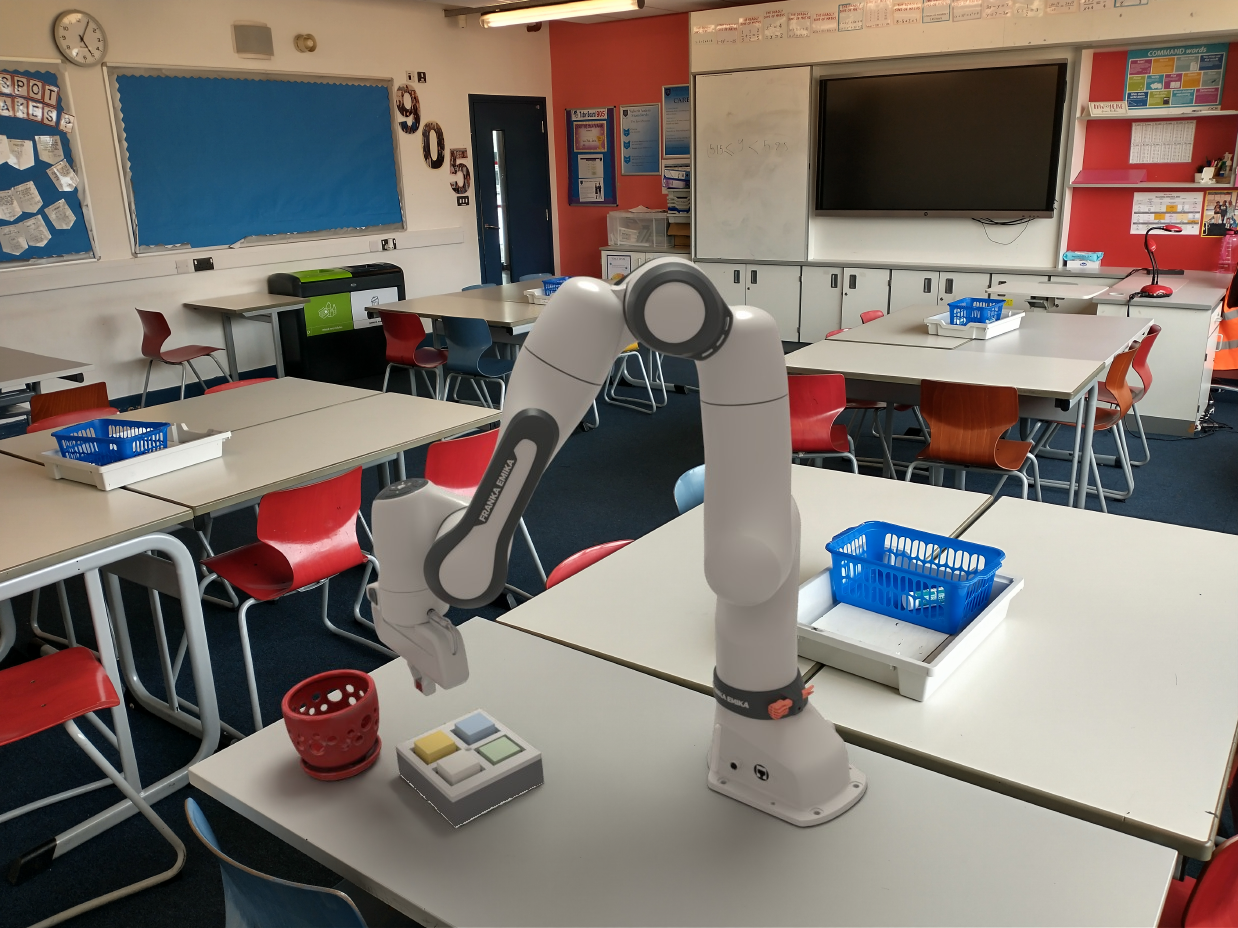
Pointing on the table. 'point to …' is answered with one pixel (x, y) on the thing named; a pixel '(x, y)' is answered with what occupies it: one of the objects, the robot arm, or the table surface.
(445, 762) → the key grey
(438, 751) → the key mustard
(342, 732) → the plant pot
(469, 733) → the key blue
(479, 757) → the keypad
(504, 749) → the key sage
